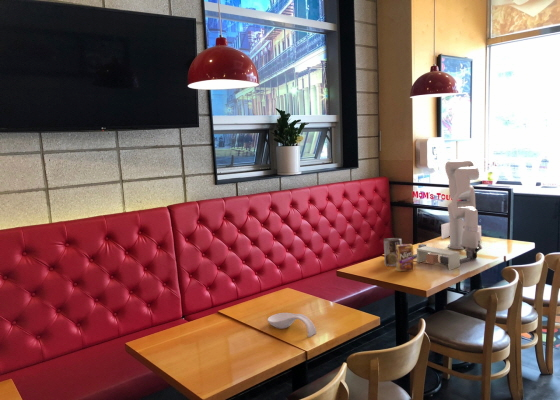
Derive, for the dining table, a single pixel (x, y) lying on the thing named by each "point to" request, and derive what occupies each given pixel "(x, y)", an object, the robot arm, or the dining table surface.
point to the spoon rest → (291, 321)
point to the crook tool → (469, 257)
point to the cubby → (452, 255)
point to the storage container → (446, 230)
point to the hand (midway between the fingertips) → (471, 257)
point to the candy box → (404, 257)
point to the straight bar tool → (418, 247)
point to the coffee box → (390, 251)
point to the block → (432, 258)
